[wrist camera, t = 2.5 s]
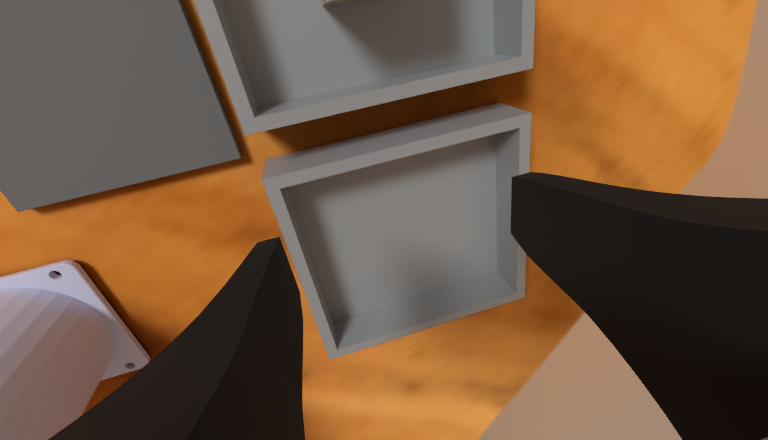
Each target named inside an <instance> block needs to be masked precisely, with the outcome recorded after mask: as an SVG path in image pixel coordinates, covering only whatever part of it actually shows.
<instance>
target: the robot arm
mask: <svg viewBox="0 0 768 440" xmlns="http://www.w3.org/2000/svg"><path fill="white" fill-rule="evenodd" d="M511 234H512V235H513V237H514V238H515V240H516V241H517V242H518V244H519V245H520V246H521V248H522V249H523V250H524V251H525V253H526V254H527V255H528V256H529V257H530V258H531V259H532V261H533V262H534V263H535V264H537V265H538V266H539V267H540V268H541V269H542V270H543V271H544V272H545V273H546V274H547V275H548V276H549V277H550V278H551V279H552V280H553V281H554V282H555V283H556V284H557V285H558V286H559V287H560V288H561V289H562V290H563V291H564V292H565V293H566V294H567V295H568V296H569V297H571V298H572V299H573V300H574V301H575V302H576V303H577V304H578V305H579V306H580V307H581V308H582V309H583V310H584V311H585V313H586V314H587V315H588V316H589V317H590V318H591V319H592V320H593V321H594V323H595V324H596V325H597V326H598V327H599V328H600V330H601V331H602V332H603V333H604V335H605V336H606V337H607V338H608V339H609V340H610V342H611V343H612V344H613V345H614V346H615V348H616V349H617V350H618V352H619V353H620V354H621V355H622V357H623V358H624V359H625V361H626V362H627V363H628V364H629V366H630V367H631V368H632V370H633V371H634V372H635V373H636V375H637V376H638V377H639V379H640V380H641V381H642V383H643V384H644V386H645V387H646V388H647V390H648V391H649V392H650V393H651V395H652V396H653V398H654V399H655V401H656V402H657V403H658V405H659V406H660V408H661V409H662V410H663V411H664V413H665V414H666V416H667V417H668V419H669V420H670V422H671V423H672V425H673V426H674V428H675V429H676V430H677V432H678V434H679V435H680V437H681V438H682V440H768V199H755V198H725V197H706V196H693V195H682V194H671V193H661V192H653V191H645V190H638V189H632V188H625V187H619V186H613V185H607V184H601V183H596V182H590V181H585V180H580V179H574V178H569V177H563V176H558V175H551V174H545V173H534V172H529V173H525V174H521V175H517V176H514V177H512V190H511ZM54 271H58V272H60V273H61V275H59V274H56V273H55V272H54ZM149 361H150V357H149V355H148V354H147V353H146V351H145V350H144V349H143V347H142V346H141V345H140V343H139V342H138V341H137V339H136V338H135V337H134V335H133V334H132V333H131V332H130V330H129V329H128V328H127V326H126V325H125V324H124V322H123V321H122V320H121V318H120V317H119V316H118V315H117V313H116V312H115V311H114V309H113V308H112V307H111V305H110V304H109V303H108V301H107V300H106V299H105V297H104V296H103V295H102V294H101V292H100V291H99V290H98V288H97V287H96V286H95V284H94V283H93V282H92V280H91V279H90V278H89V277H88V275H87V274H86V273H85V271H84V270H83V269H82V267H81V266H80V265H79V264H78V263H76V262H74V261H70V260H64V261H60V262H56V263H52V264H49V265H45V266H41V267H37V268H33V269H29V270H25V271H22V272H18V273H14V274H10V275H6V276H2V277H0V440H305V434H304V423H303V411H302V365H303V316H302V307H301V299H300V291H299V289H298V286H297V283H296V281H295V278H294V275H293V272H292V270H291V267H290V264H289V262H288V259H287V256H286V254H285V251H284V248H283V245H282V243H281V240H280V237H277V238H273V239H269V240H265V241H262V242H258V243H257V244H256V245H255V246H254V248H253V249H252V250H251V252H250V253H249V254H248V256H247V257H246V258H245V260H244V261H243V262H242V264H241V265H240V266H239V268H238V269H237V270H236V271H235V273H234V274H233V275H232V277H231V278H230V279H229V280H228V282H227V283H226V284H225V286H224V287H223V288H222V289H221V290H220V291H219V293H218V294H217V295H216V296H215V297H214V298H213V300H212V301H211V302H210V303H209V304H208V305H207V307H206V308H205V309H204V310H203V311H202V312H201V313H200V314H199V316H198V317H197V318H196V319H195V320H194V321H193V322H192V323H191V324H190V325H189V326H188V327H187V328H186V329H185V330H184V331H183V332H182V333H181V334H180V335H179V336H178V337H177V338H176V339H175V340H174V341H172V342H171V343H170V344H169V345H168V346H167V347H166V348H165V349H164V350H163V351H162V352H160V353H159V354H158V355H157V356H156V357H155V358H153V359H152V360H151V361H150V362H149ZM131 363H133V364H131ZM141 368H142V369H141ZM138 369H140V370H139V371H138V372H137V373H136V374H135V375H133V376H132V377H131V378H130V379H129V380H127V381H126V382H125V383H124V384H123V385H121V386H120V387H119V388H118V389H116V390H115V391H114V392H112V393H111V394H110V395H108V396H107V397H106V398H104V399H103V400H102V401H101V402H99V403H98V404H97V405H95V406H94V407H93V408H91V409H90V410H88V411H87V412H86V413H84V414H83V412H84V410H85V408H86V406H87V404H88V403H89V401H90V399H91V397H92V395H93V393H94V392H95V390H96V388H97V386H98V384H99V382H100V381H102V380H105V379H108V378H111V377H115V376H118V375H121V374H125V373H128V372H131V371H135V370H138ZM82 414H83V415H82ZM81 415H82V416H81Z"/></svg>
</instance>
